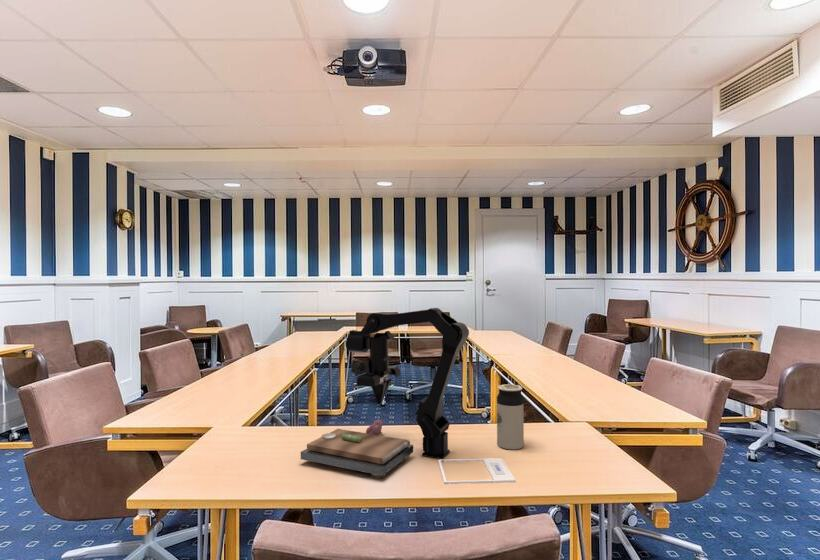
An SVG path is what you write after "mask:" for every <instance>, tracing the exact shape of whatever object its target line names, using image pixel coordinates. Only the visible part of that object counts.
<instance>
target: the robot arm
mask: <svg viewBox="0 0 820 560" xmlns="http://www.w3.org/2000/svg"><path fill="white" fill-rule="evenodd" d="M427 322H428V323H431V325H432V326H433V327H434V328H435V329H436V331H438V333H440V334H441V335H442V340H441V349H442V351H441V355H440V358H439V362H438V365H437V368H436V371H435V374H434V378H433V380H432V382H431V383H432V384H431V387H430V390H429V393H428V396H426V397H424V398H422V399H420V401H419V402H418V406H417V410H416V412H415V413H414V414H415V415H416V423H417V424H418V426H419V427H420V430H421V432H422V433H421V434H422V436H423V437H422V453H421V456H423V457H428V458H435V459H438V460H444V458H445V457H446V456H447V455H449V453H451V450H450V449H448V448H449V437H448V436H449V435H448V434H449V433H448V432H447V431H448V430H449V427H450V424H451V423H450V422H449V420H448V419H447V418H446V417H445V415H443V413H444V397H445V393H446V391H447V388H448V385H449V381H450V379H451V376H452V372H453V369H454V365H455V362H456V359H457V356H458V355H459V353H460V351H462V348H463V347H464V345H465V344H466V341H467V339H468V338H469V336H470V331H469V328H468V326H467V325H466V324H465V323H463V322H459V321H457V320H456V319H454V317H452V316H450V315H448V314H447V313H445V312H444V311H442V310H441V309H440V308H438V307H433V308H432V307H431V308H429V309H422V310H421V309H420V310H415V311H414V310H413V311H408V312H400V313H399V312H398V313H397V312H388V311H385V312H384V311H381V312H380V311H379V312H373V313H370V314H369V315H368V316H367V318H366V322H365V324H364V325H363V326H362V328H361V330H358V329H351V330H349V331H348V332H349V333H348V335H347V337H346V341H345V348H346V350H347V351H348V352H349V353H350V352H351V353H352V352H353V353H367V352H368V351H369V356H366V359H365V360H366V361H365V362H362V363H360V362H359V361H355V362H352V363H351V367H350V368H351V370H350V371H351V373H352V374H354V377H356V379H355V381H356V382H355V385H356V386H359V387H370V388H371V389H372V392H373V395H374V397H375V401H376V403H377V405H381V404H382V403H383V401H384V399H385V396H386V394H387V392H388V390H389V388H390V385H391V383H392V382H393V379H389V376H394V377H401V369H400V368H399V366H394V365H393V366H392V365H389V360H391V357H392V356H391V355H389V340H391V339H392V340H393V339H394V338H396V337H395V335H394V334H392V333H391V332H390V329H392V328H394V327H398V326H405V325H412V324H414V325H415V324H421V323H427ZM388 329H389V330H388ZM381 331H382V332H381ZM383 331H385V332H383ZM371 334H374V335H371Z"/></svg>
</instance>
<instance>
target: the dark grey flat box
mask: <svg viewBox="0 0 820 560" xmlns="http://www.w3.org/2000/svg"><path fill="white" fill-rule="evenodd" d="M413 453H414V445H413V444H410V445H409V446H407V447H406V448H405V449H403V450H402V451H401V452H399V453H398V454H397V455H395V456H394V457H392V458H391V459H390V460H388V461H387V462H386V463H384V464H378V463H373V462H368V461H363V460H358V459H353V458H348V457H343V456H337V455H332V454H327V453H322V452H317V451H312V450H307V448H305V449H303V450H302V451H301V450H300V460H303V461H309V462H312V463H316V464H317V463H318V464H323V465H328V466H333V467H337V468H343V469H347V470H352V471H359V472H361V473H367V474H370V475H371V477H372V478H375V479H380V478H381V479H382V478H384V477H385V476H386V474H387V473H388V472H389V471H391V470H392V469H394V468H395V467H396V466H397V465H398V464H400V463H402V462H404V461H406V460H405V459H406V458H408V457H409V456H410V455H411V454H413Z"/></svg>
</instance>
